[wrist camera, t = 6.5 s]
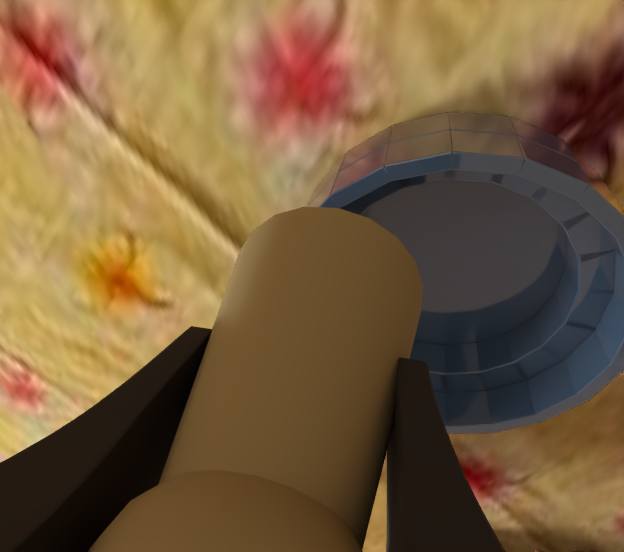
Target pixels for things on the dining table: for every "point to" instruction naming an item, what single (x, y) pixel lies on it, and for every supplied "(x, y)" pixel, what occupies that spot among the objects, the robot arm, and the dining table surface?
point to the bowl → (497, 262)
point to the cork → (287, 396)
